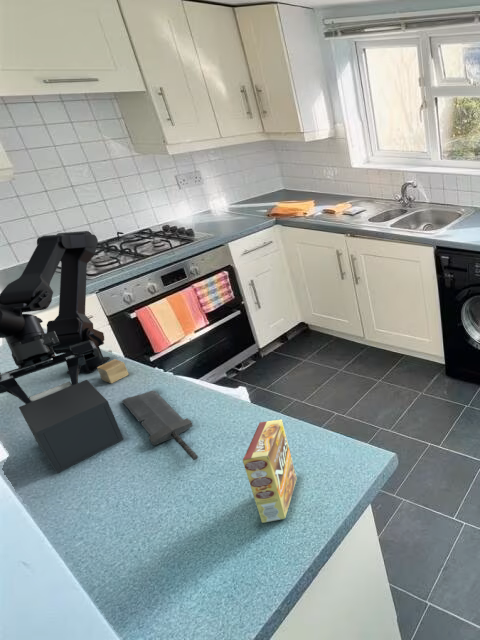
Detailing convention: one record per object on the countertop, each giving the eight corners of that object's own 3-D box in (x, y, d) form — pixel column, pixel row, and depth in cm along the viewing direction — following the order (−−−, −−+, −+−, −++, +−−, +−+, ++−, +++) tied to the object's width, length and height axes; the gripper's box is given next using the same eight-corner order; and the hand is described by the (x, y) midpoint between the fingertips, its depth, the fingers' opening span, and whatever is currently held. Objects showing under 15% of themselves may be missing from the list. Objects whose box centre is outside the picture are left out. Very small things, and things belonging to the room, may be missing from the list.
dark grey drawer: (33, 430, 93) (17, 398, 90) (90, 405, 101) (76, 375, 98) (55, 463, 86) (38, 429, 82) (115, 433, 93) (101, 401, 90)
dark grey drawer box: (39, 446, 91) (18, 407, 87) (103, 416, 99) (86, 379, 95) (57, 473, 84) (35, 432, 80) (123, 439, 93) (107, 400, 89)
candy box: (286, 519, 76) (269, 455, 70) (260, 524, 75) (241, 460, 69) (297, 478, 84) (283, 418, 78) (274, 482, 83) (258, 421, 77)
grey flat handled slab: (156, 390, 109) (154, 383, 108) (216, 450, 90) (213, 443, 89) (120, 405, 103) (117, 398, 102) (175, 473, 84) (172, 465, 83)
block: (102, 379, 111) (96, 367, 110) (119, 371, 114) (114, 358, 113) (111, 383, 110) (106, 371, 108) (129, 374, 113) (124, 362, 112)
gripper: (-50, 345, 83) (-20, 414, 81) (79, 309, 97) (108, 367, 95) (-34, 363, 90) (-7, 427, 88) (84, 327, 104) (111, 382, 102)
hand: (54, 399), depth 93 cm, fingers closed on dark grey drawer, 6 cm apart
